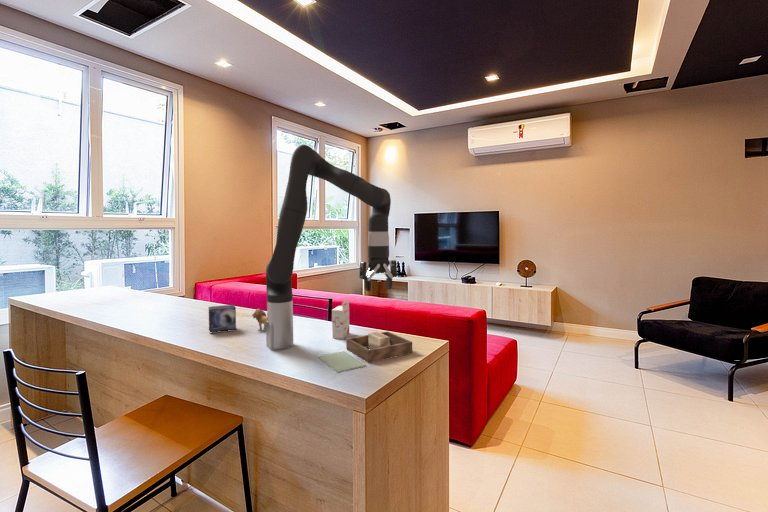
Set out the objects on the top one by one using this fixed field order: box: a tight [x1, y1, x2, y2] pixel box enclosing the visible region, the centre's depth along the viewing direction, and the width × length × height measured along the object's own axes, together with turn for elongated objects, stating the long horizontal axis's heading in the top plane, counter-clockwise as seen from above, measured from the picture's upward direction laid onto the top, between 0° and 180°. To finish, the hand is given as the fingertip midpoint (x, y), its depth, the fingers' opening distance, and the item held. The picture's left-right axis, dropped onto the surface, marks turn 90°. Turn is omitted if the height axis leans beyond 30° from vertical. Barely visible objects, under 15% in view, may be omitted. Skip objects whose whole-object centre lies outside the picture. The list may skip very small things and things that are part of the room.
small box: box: [208, 304, 237, 333], centre depth 159 cm, size 11×6×10 cm, turn 119°
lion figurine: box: [251, 308, 267, 331], centre depth 158 cm, size 15×5×9 cm, turn 51°
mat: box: [317, 350, 367, 373], centre depth 121 cm, size 10×16×1 cm, turn 32°
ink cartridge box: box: [331, 299, 350, 340], centre depth 150 cm, size 9×5×15 cm, turn 168°
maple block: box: [367, 331, 391, 349], centre depth 131 cm, size 4×8×6 cm, turn 32°
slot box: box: [345, 331, 413, 363], centre depth 131 cm, size 18×16×4 cm
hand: (378, 289), depth 130 cm, fingers open, 8 cm apart
